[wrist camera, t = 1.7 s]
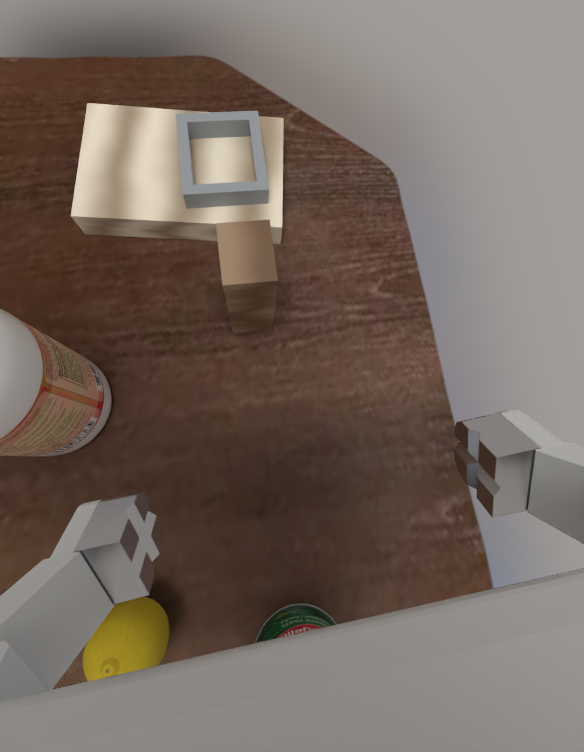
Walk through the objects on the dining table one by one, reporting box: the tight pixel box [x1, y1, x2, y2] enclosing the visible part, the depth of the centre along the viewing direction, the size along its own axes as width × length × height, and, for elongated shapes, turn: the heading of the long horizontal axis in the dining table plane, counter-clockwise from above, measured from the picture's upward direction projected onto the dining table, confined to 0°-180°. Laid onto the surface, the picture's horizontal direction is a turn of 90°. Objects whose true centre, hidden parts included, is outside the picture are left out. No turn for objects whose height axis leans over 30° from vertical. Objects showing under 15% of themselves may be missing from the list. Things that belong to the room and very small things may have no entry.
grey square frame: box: [176, 111, 269, 209], centre depth 37 cm, size 8×9×2 cm
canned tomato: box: [255, 603, 337, 643], centre depth 27 cm, size 8×8×11 cm
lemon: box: [83, 597, 169, 681], centre depth 28 cm, size 6×6×8 cm
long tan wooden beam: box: [216, 219, 278, 335], centre depth 33 cm, size 4×5×11 cm
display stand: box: [71, 103, 283, 244], centre depth 39 cm, size 20×13×3 cm, turn 90°
